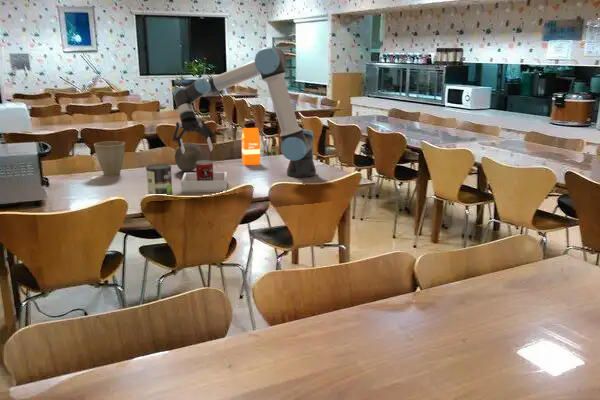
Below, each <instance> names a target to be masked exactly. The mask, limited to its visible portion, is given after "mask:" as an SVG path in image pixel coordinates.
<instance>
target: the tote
mask: <svg viewBox="0 0 600 400" xmlns="http://www.w3.org/2000/svg"><path fill="white" fill-rule="evenodd" d="M227 174H228V173H227V171H213V181H197V176H196V172H184V173H183V175H182V178H181V181H180V185H181V186H180V187H181V189H180V190H181V193H218V192H220V191H224V190H228V175H227Z"/></svg>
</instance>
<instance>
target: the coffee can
mask: <svg viewBox="0 0 600 400" xmlns="http://www.w3.org/2000/svg"><path fill="white" fill-rule="evenodd" d="M145 169H146V179H147V180H146V182H147V195H149V194H167V195H173V182H172V181H173V180H172V165H169V164H167V163H166V164H165V163H160V164H159V163H158V164H150V165H147V166H146V167H145Z"/></svg>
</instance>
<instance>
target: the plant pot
mask: <svg viewBox="0 0 600 400" xmlns="http://www.w3.org/2000/svg"><path fill="white" fill-rule="evenodd" d="M93 146H94V151H95V155H96V157H97V161H98V164H99V166H100V169H101V170H102V172H103V175H104V176H108V177H112V176H113V177H114V176H119V175H120V174H121V171H122V167H123V162H124V157H125V152H126V151H125V150H126V142H124V141H117V140H116V141H115V140H114V141H113V140H111V141H100V142H95V143H93Z"/></svg>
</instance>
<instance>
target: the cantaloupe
mask: <svg viewBox="0 0 600 400" xmlns="http://www.w3.org/2000/svg"><path fill="white" fill-rule="evenodd" d="M183 145H184V149H185V152H184V154H182V150H181V147H179V146H178V147H177V149H176V150H175V154H174V161H175V164H176V165H177V168H178V169H179V170H181V172H184V173H190V172H192V171H194V170H196V162H197V161H200V160H202V151H201V149H200V148H199V145H197V144H195V143H192V142H184V143H183Z"/></svg>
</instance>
